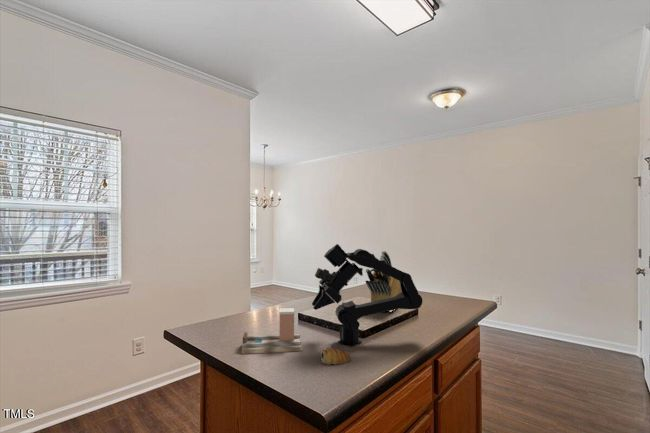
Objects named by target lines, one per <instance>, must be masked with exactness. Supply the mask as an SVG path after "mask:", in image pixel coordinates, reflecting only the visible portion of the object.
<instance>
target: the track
mask: <svg viewBox="0 0 650 433" xmlns="http://www.w3.org/2000/svg"><path fill="white" fill-rule="evenodd" d="M241 346H242V347H241V354H242V355H246V354H247V355H249V354H264V353H265V354H266V353H284V352H285V353H286V352H302V340H301V334H300V333H299V334H298V333H296V334H295V333H294V341H284V342H280V334H275V335H273V334H272V335H252V336H249V335H248V332H244V333H243V336H242V345H241Z"/></svg>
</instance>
